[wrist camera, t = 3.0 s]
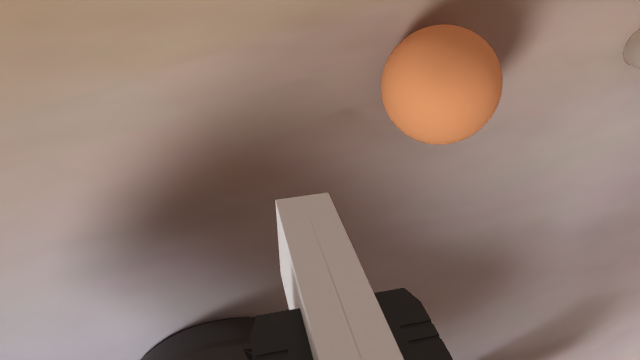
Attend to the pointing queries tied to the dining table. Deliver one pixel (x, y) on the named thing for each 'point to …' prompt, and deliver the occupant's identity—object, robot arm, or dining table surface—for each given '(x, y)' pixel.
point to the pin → (633, 50)
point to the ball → (441, 84)
